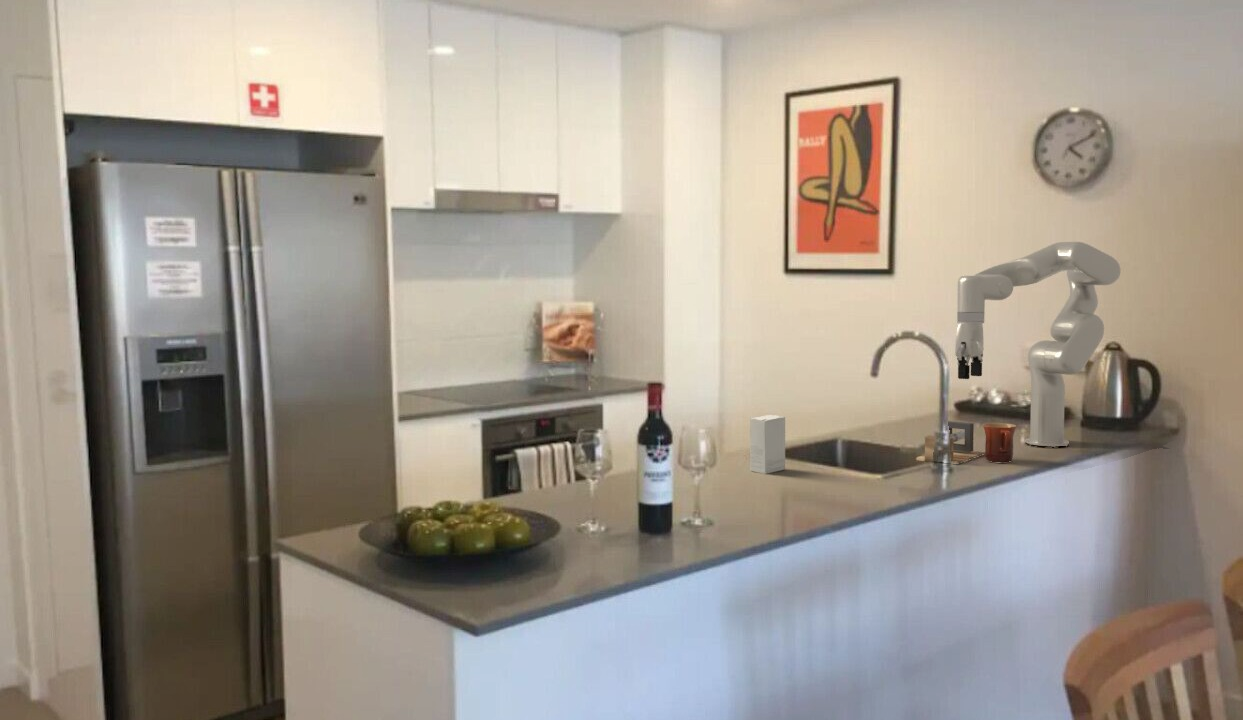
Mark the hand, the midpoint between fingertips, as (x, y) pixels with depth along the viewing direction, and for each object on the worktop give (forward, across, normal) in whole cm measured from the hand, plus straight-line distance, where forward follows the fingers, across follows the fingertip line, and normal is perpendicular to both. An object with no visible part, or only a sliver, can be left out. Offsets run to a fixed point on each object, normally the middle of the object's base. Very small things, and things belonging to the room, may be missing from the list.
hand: (970, 377), depth 309 cm
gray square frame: (+21, +7, 0) cm, 22 cm away
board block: (+22, +12, 0) cm, 25 cm away
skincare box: (+22, +60, -32) cm, 71 cm away
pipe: (+18, +11, 0) cm, 21 cm away
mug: (+22, +11, +14) cm, 29 cm away
